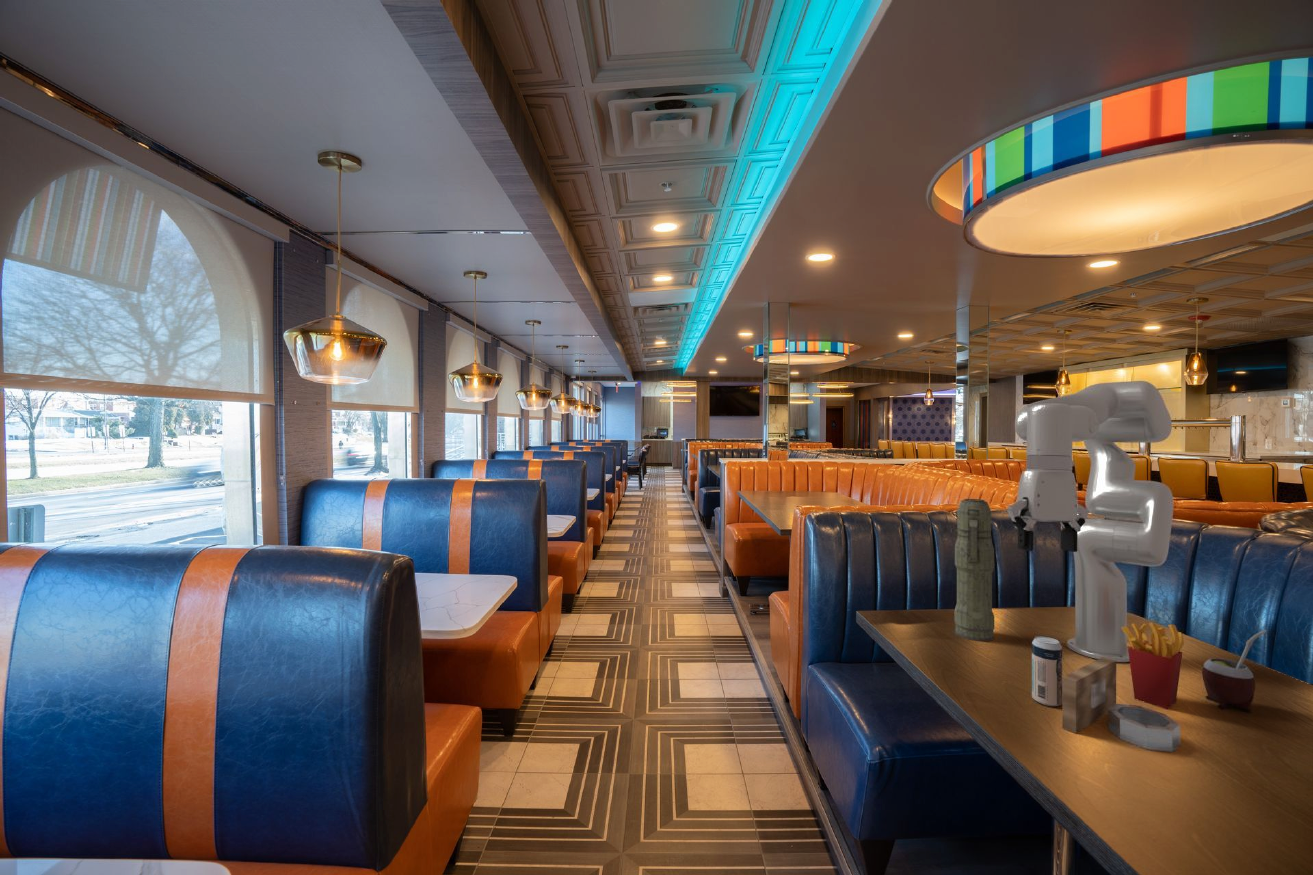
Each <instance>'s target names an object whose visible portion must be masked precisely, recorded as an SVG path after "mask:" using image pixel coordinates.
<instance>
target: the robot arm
mask: <svg viewBox="0 0 1313 875" xmlns="http://www.w3.org/2000/svg"><path fill="white" fill-rule="evenodd" d="M1014 420H1015V421H1014V430H1015V432H1016V435H1017V436H1018V437H1019V438H1020V439H1021V440H1023V441H1025V442H1026V456H1025V457H1026V458H1025V459H1026V464H1025V465H1026V466H1025V467H1026V469H1025V470H1022V472H1021V475H1020V478H1019V479H1020V480H1019V482H1018V490H1017V498H1016V502H1014V503H1012V504H1011V505H1008V506H1007V507H1006V512H1007V514H1008V516H1009V520H1010V522H1011V523H1012V524H1013V525H1014V528H1015V529H1016V530H1017V548H1018V550H1023V551H1027V552H1033V550H1034V530H1031V529H1032V528H1033V527H1034V526H1035V524H1036V523H1037V522H1045V523H1060V525H1061V526H1062V528H1063V529H1061V530H1060V549H1061V550H1063V551H1067V552H1071V553H1073V560H1074V574H1075V576H1074V577H1075V579H1074V580H1075V582H1074V583H1075V585H1074V586H1075V588H1074V592H1075V594H1074V595H1075V596H1074V597H1075V601H1074V602H1075V606H1074V607H1075V608H1074V609H1075V610H1074V611H1075V617H1074V619H1075V623H1074V624H1075V626H1074V627H1075V630H1074V631H1075V632H1074V633H1075V637H1072V638H1069V639H1068V640H1067V647H1068V648H1069V650H1071V651H1073V652H1075V653H1077V654H1079V655H1081V656H1085V657H1088V658H1092V659H1094V660H1095V659H1096V660H1098V659H1100V658H1102V657H1106V658H1109V659H1113V660H1116V663H1130V660H1129V652H1128V648H1129V647H1128V642H1127V641H1128V637H1127V636H1126V634H1125V633H1124V631H1123V630H1122V629H1121V628H1122V627H1125V626H1127V627H1128V625H1127V623H1128V619H1127V618H1128V617H1127V616H1128V612H1127V611H1128V608H1127V606H1128V604H1127V601H1128V600H1127V599H1128V596H1127V594H1128V593H1127V592H1128V588H1127V587H1128V584H1127V579H1126V577H1125V575H1124V574H1123V572H1122V571H1121V570H1120V568H1118V566H1117V565H1116V564H1115V563H1121V564H1130V565H1137V566H1144V567H1160V566H1162V565H1164V563H1165V562H1166V561H1167V559H1168V555H1169V550H1170V549H1169V548H1170V541H1171V534H1172V533H1171V532H1172V524H1173V515H1174V496H1173V493H1172V490H1171V489H1170V488H1169V486H1168V485H1166V484H1164V483H1163V482H1160V481H1159V482H1158V481H1155V480H1154V481H1153V480H1139V479H1138V480H1137V479H1135V475H1136V466H1137V465H1136V463H1135V461H1134V459H1133V458H1132V457H1131V456H1130V455H1129V454H1128V453H1127V452H1126V451H1125V450H1123V449H1122V448H1121V447H1120V446H1118V444H1116V443H1126V444H1127V443H1135V444H1136V443H1138V444H1140V443H1145V444H1146V443H1147V444H1149V443H1150V444H1151V443H1153V444H1154V443H1159V442H1164V441H1165V440H1166V439H1168V438H1169V437H1170V436H1171V432H1172V429H1173V427H1172V425H1173V423H1172V417H1171V415H1170V411H1169V410H1168V408H1167V406H1166V403H1165V401H1164V398H1163V397H1162V395H1161V393H1160V391H1159V390H1158V388H1157V387H1156V386H1155V385H1154V384H1153V383H1151V382H1150V381H1145V380H1133V381H1132V380H1131V381H1114V382H1113V381H1112V382H1100V383H1094V384H1091V385H1089V386H1087V387H1085V388H1083V389H1081V390H1079V391H1077V392H1075V393H1071V394H1066V395H1062V396H1057V397H1053V398H1048V399H1043V400H1039V401H1035V402H1032V403H1029V404H1028V405H1025V406H1024V407H1022V409H1020V410H1019V411H1018V413H1017V414H1016V417H1015V419H1014ZM1079 442H1083V444H1084V446H1085V448H1086V451H1087V453H1088V455H1089V459H1090V471H1089V474H1088V475H1089V476H1088V480H1087V487H1086V492H1085V497H1084V498H1085V499H1084V502H1085V503H1084V504H1085V506H1083V505H1081V504H1079V503H1078V502H1079V501H1078V489H1077V483H1076V478H1075V473H1074V472H1073V467H1075V461H1074V460H1073V443H1079ZM1089 514H1092V515H1094V516H1095V517H1101V518H1087V517H1088V515H1089ZM1104 518H1106V519H1104ZM1107 518H1108V519H1107ZM1117 519H1118V520H1117ZM1121 520H1122V521H1121ZM1123 520H1127V521H1123ZM1132 521H1136V522H1132ZM1137 521H1138V522H1137ZM1141 522H1142V523H1141Z"/></svg>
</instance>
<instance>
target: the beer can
mask: <svg viewBox="0 0 1313 875" xmlns="http://www.w3.org/2000/svg"><path fill="white" fill-rule="evenodd" d="M1062 677H1063V646H1062V645H1061V643H1060V641H1059V640H1058V639H1055V638H1052V637H1050V636H1049V637H1048V636H1035V637H1034V638H1033V640H1032V642H1031V697H1032V699H1033V700H1034V701H1036V702H1037V703H1039V704H1041V705H1043V706H1048V707H1052V706H1055V707H1058V706H1061V705H1062Z"/></svg>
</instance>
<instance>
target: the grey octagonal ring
mask: <svg viewBox="0 0 1313 875" xmlns="http://www.w3.org/2000/svg"><path fill="white" fill-rule="evenodd" d="M1107 723H1108V724H1107V725H1108V726H1107V729H1108V730H1109V729H1110V730H1111V731H1110V730H1109V731H1110V732H1111V733H1112V732H1113V735H1115V736H1116V737H1117V738H1118V739H1119V738H1120V739H1121V741H1123V740H1125V741H1124V742H1126V743H1128V742H1130V743H1129V744H1131V743H1132V745H1134V746H1136V745H1137V746H1136V747H1139V748H1141V749H1145V750H1147V749H1148V750H1147V751H1158V752H1165V753H1166V752H1167V753H1174V752H1175V750H1177V749H1178V748H1179V747H1181V746H1180V745H1181V724H1179V723H1178V722H1177V721H1176V720H1174V719H1173V718H1171V717H1170V716H1168V715H1167V714H1165V713H1163V712H1161V711H1157V710H1154V709H1150V708H1148V707H1145V706H1141V705H1134V704H1126V703H1125V704H1124V703H1116V704H1115V705H1113V706H1112V707H1110V708H1108V714H1107ZM1120 739H1119V740H1120Z"/></svg>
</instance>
